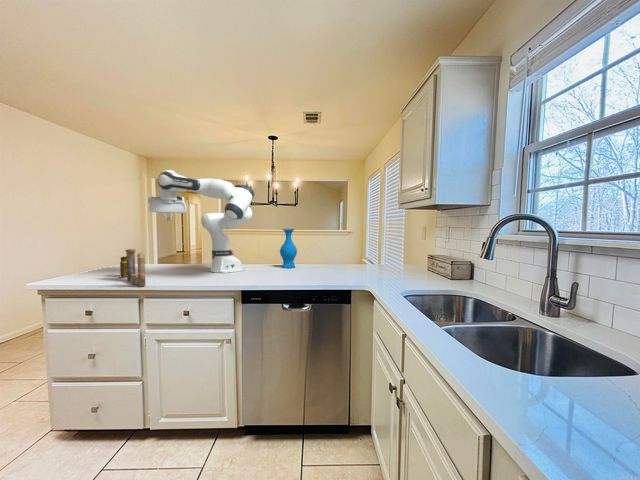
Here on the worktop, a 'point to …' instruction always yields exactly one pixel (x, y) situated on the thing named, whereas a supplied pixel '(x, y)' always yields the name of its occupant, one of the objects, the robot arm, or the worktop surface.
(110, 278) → the worktop surface
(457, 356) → the worktop surface
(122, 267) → the condiment
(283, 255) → the vase
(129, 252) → the gate post
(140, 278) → the gate
